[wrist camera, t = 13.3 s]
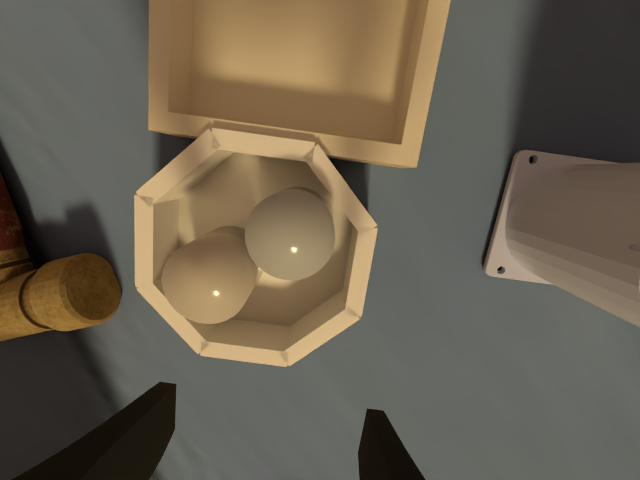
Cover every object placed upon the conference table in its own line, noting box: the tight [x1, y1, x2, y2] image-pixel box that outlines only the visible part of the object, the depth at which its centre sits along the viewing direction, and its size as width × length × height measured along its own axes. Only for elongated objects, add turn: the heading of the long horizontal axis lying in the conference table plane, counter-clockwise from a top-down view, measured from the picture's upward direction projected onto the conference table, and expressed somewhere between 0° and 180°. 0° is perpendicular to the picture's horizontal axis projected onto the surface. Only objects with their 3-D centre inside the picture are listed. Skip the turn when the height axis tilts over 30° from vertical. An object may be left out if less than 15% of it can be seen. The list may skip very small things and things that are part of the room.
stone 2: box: [245, 187, 335, 280], centre depth 17 cm, size 4×4×4 cm
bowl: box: [134, 128, 378, 367], centre depth 18 cm, size 13×13×4 cm
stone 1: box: [162, 226, 263, 324], centre depth 17 cm, size 4×4×4 cm
